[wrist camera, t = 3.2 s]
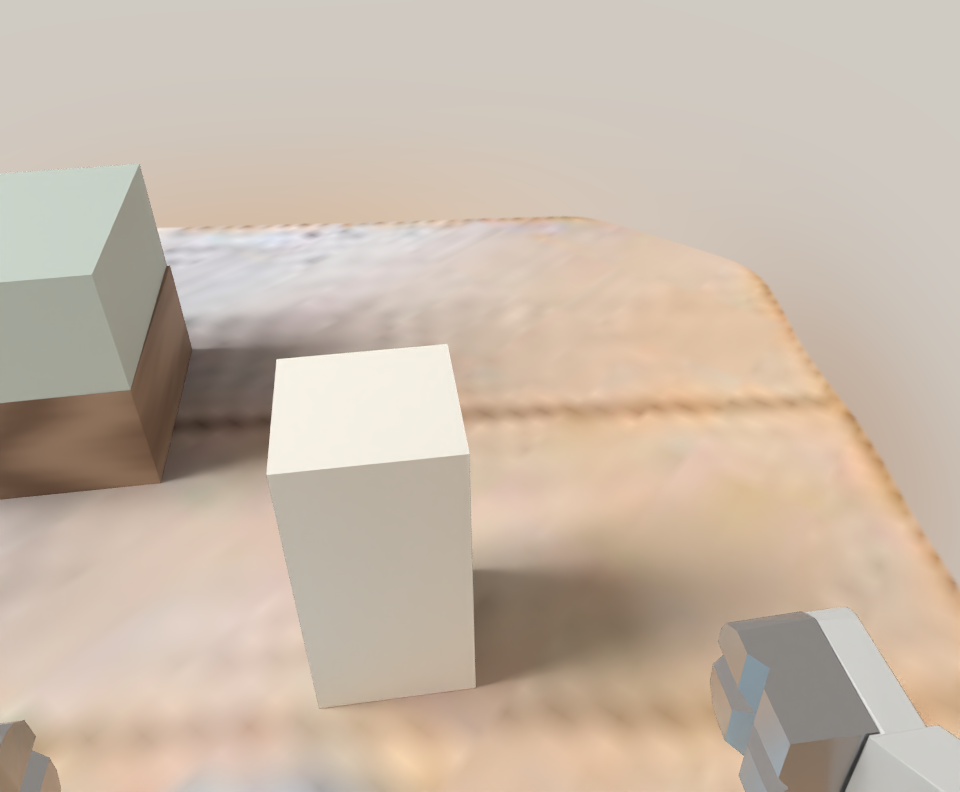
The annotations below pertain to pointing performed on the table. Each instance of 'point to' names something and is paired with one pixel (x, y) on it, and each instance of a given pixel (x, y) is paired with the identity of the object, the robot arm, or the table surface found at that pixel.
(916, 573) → the table surface
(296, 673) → the table surface
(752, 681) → the robot arm
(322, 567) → the tall block
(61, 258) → the tower top
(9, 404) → the tower bottom
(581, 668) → the table surface
